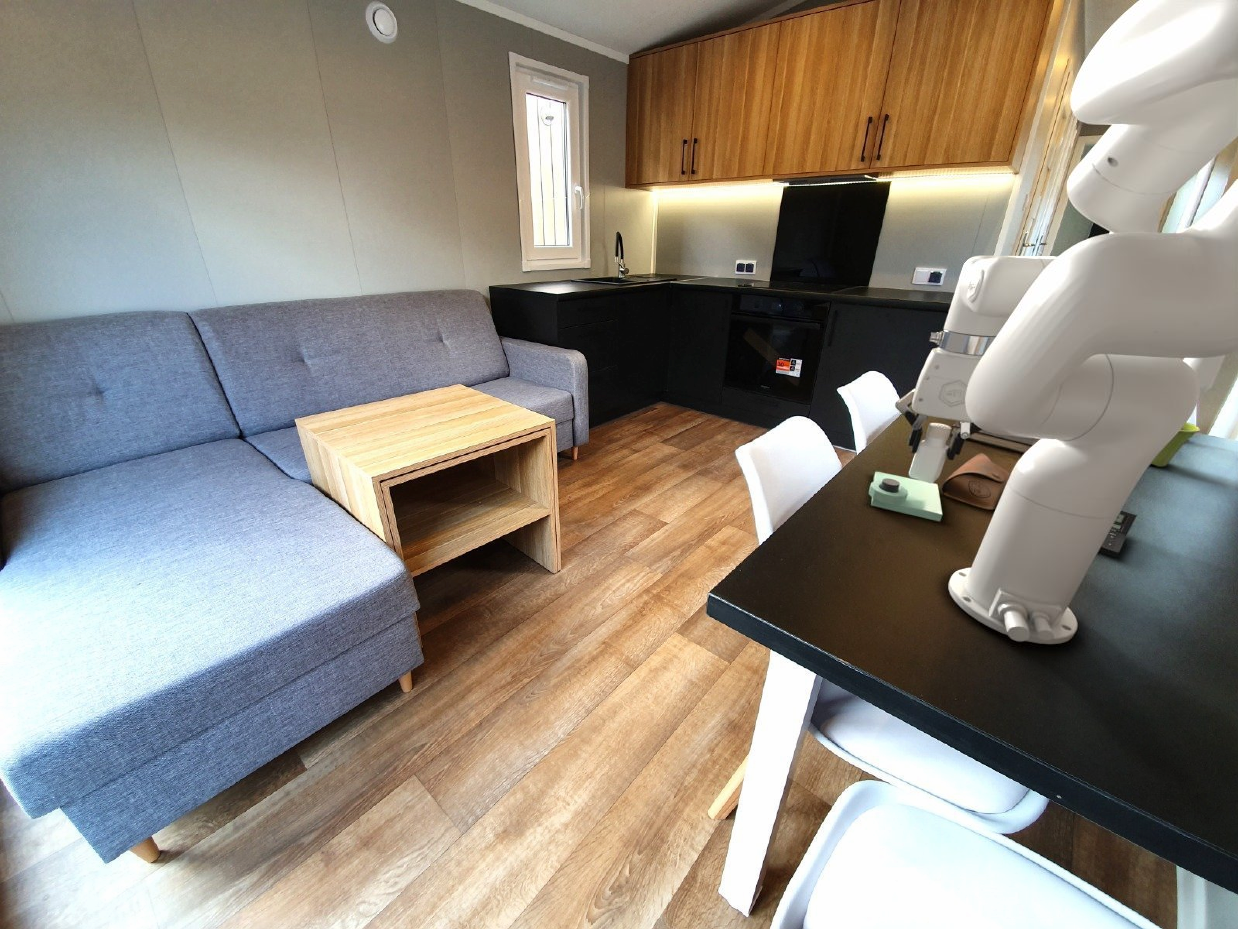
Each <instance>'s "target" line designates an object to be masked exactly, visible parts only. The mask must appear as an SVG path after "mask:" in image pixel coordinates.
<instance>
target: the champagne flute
mask: <svg viewBox="0 0 1238 929" xmlns="http://www.w3.org/2000/svg"><path fill="white" fill-rule="evenodd" d="M1226 356H1227V354H1226V355H1222V356H1217V357H1209V358H1183V359H1182V360H1183V361H1184V362H1186V363H1187V364H1188V365H1189V366H1190V367H1191V368H1192V369H1193V371H1194V372H1195V374H1196V376H1197V378H1198V382H1199V388H1200V389H1199V395H1201V394H1203V393H1206V392H1207V391H1209V390H1210V389H1212V387H1213V386H1214V383H1215V381H1216V379H1217V378H1218V374H1219V372H1220V370H1221V367H1222V365H1223V363H1224V360H1225V358H1226Z"/></svg>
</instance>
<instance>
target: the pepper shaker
mask: <svg viewBox="0 0 1238 929" xmlns="http://www.w3.org/2000/svg"><path fill="white" fill-rule="evenodd" d="M951 432H952V426H950V425H947V424H944V423H940V422H930V423H929V424H928V426H927V431H926V434H925V438H924V439H923V440H920V443H919V446H918V449H917V452H916V453H914V455H913V459H912V462H911V465H910V468H909V471H908V477H910V479H915V480H920V481H924V482H927V483H934V482H936V481H937V480H938V479H939V478H940V476H941V473H942V470H943V467H944V465H945V463H946V459H947V458H948V457H947V453H948V451H949V445H947V441H948V440H949V438H950V436H951V435H950V433H951Z"/></svg>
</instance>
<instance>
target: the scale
mask: <svg viewBox="0 0 1238 929" xmlns="http://www.w3.org/2000/svg"><path fill="white" fill-rule="evenodd" d="M885 478H889V479H894V480H896V481H898V482H899V483H900V486H899V489H898V492H897V493H891V492H886V491H884V490H882V489H881V488H880V487H881V483H882V480H883V479H885ZM868 495H869V496H870V497H871V504H870V506H872V507H875V508H880V509H884V510H890V511H893V512H898V513H901V514H906V515H910V516H915V517H918V518H923V519H927V520H931V521H935V522H941V520H942V518H943V509H942V503H941V497H940V491H939V486H938V483H934V482H933V483H927V482H924V481H921V480H917V479H914V478H911V477H910V478H909V477H905V476H900V475H897V474H890V473H885V472H882V471H876V470H875V472H874V476H873V481H872V482H871V483H870V486H869V490H868Z"/></svg>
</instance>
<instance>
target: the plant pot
mask: <svg viewBox="0 0 1238 929" xmlns="http://www.w3.org/2000/svg"><path fill="white" fill-rule="evenodd" d="M1199 432H1201V428H1200V427H1199V426H1197V425H1195V424H1192V423H1190V422H1188V421H1187V422H1186V423H1185V425H1184V426H1183V427H1182V428H1181V430H1180V431H1179V432H1178V433H1177V434H1176V435H1175V436H1174V437H1173V439H1172V440H1171V441H1170V442H1169V443H1168V444H1167V445H1166V446H1165V447H1164V448H1163V449H1162V450H1161V451H1160V453H1159V454H1158V455H1157V456H1156V457H1155V458H1154V460H1153V461H1152V462H1151V464H1150V465H1154V466H1156V467H1166V466H1167V465H1168V464H1169V463H1170V462H1171V460H1172V459H1173V458H1174V456H1176V454H1177V453H1178V452H1179V450H1180V449H1181V448H1182V447H1183V446H1184V445H1185V443H1186V442H1187V441H1188V440H1190V439H1191V438H1193V436H1194V435H1195V434H1196V433H1197V434H1198V433H1199Z"/></svg>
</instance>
